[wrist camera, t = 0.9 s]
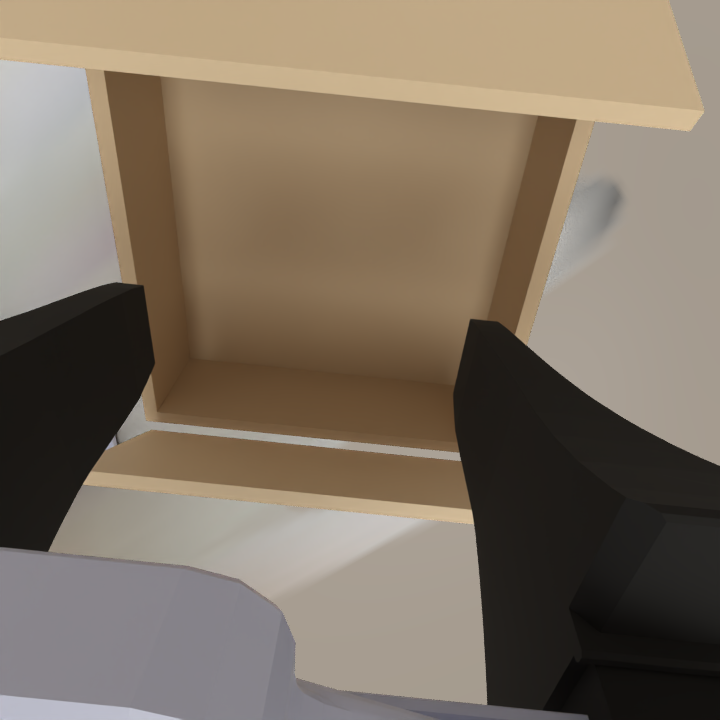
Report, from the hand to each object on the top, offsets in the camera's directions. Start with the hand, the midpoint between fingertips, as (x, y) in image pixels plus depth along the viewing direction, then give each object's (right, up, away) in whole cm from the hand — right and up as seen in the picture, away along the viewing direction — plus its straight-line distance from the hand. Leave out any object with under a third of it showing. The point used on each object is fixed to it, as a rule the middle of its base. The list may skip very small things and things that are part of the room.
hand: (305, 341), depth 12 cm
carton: (+1, +6, +9) cm, 10 cm away
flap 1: (+1, +7, -1) cm, 7 cm away
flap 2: (0, -4, +6) cm, 7 cm away
